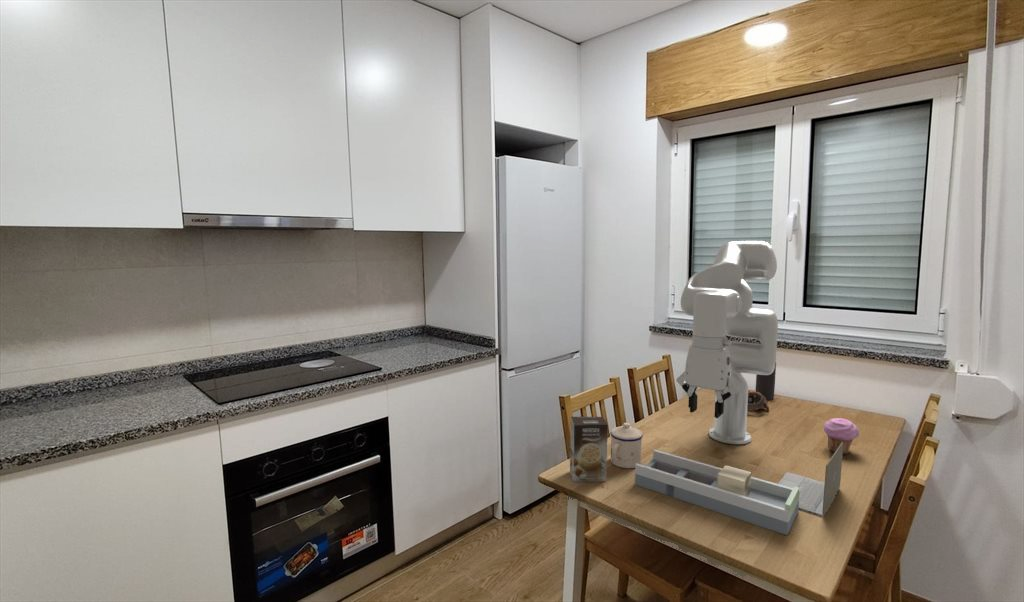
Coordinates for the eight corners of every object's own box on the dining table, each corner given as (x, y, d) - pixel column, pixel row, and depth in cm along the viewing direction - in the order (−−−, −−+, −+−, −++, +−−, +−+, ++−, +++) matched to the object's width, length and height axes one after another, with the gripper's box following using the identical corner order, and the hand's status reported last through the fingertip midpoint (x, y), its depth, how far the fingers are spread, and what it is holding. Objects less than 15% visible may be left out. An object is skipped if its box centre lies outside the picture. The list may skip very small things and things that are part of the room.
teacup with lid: (619, 452, 151) (620, 415, 149) (647, 461, 145) (648, 423, 143) (598, 466, 142) (599, 427, 140) (627, 476, 136) (628, 435, 134)
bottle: (758, 400, 198) (761, 350, 195) (752, 394, 204) (755, 347, 202) (776, 400, 196) (779, 351, 194) (770, 395, 203) (773, 347, 201)
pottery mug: (776, 415, 182) (771, 398, 179) (752, 426, 183) (747, 410, 180) (757, 397, 193) (752, 381, 190) (735, 407, 194) (729, 392, 191)
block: (724, 483, 125) (725, 465, 125) (750, 491, 121) (751, 472, 121) (716, 493, 121) (717, 474, 120) (743, 501, 117) (744, 481, 116)
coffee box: (573, 482, 133) (573, 425, 131) (569, 471, 139) (569, 416, 137) (607, 481, 133) (608, 424, 131) (602, 470, 139) (602, 415, 137)
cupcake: (819, 450, 151) (821, 419, 149) (825, 442, 157) (827, 411, 156) (854, 459, 145) (857, 426, 143) (859, 450, 151) (862, 418, 150)
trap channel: (654, 468, 141) (654, 446, 140) (798, 511, 118) (799, 486, 117) (635, 484, 131) (635, 461, 131) (787, 535, 109) (789, 507, 108)
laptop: (786, 474, 137) (789, 429, 135) (840, 489, 128) (844, 441, 127) (766, 499, 124) (769, 449, 122) (824, 518, 115) (828, 465, 114)
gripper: (750, 344, 118) (746, 417, 121) (679, 335, 129) (677, 402, 132) (741, 349, 113) (737, 426, 115) (668, 340, 124) (666, 410, 126)
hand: (705, 413), depth 123 cm, fingers open, 5 cm apart
